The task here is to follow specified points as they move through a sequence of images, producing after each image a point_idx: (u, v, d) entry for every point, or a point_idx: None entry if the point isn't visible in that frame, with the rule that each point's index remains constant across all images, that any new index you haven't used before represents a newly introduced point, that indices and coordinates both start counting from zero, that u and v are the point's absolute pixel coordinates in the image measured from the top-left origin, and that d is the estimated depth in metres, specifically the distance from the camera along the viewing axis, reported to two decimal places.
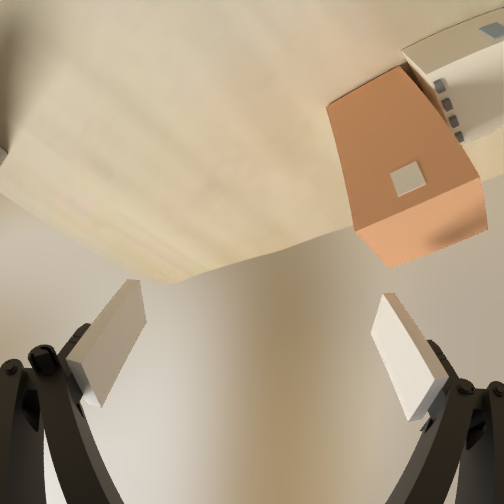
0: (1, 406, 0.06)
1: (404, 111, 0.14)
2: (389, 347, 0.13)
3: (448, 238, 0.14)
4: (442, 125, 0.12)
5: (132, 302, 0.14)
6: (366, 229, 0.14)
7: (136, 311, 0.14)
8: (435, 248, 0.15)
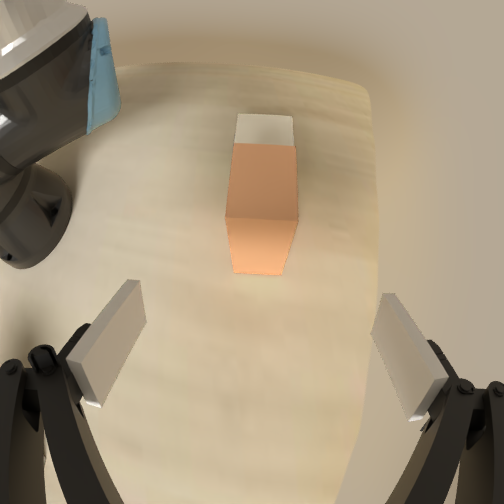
0: (1, 406, 0.06)
1: None
2: (389, 347, 0.13)
3: (285, 170, 0.21)
4: None
5: (132, 301, 0.14)
6: (229, 210, 0.20)
7: (136, 311, 0.14)
8: (292, 181, 0.21)
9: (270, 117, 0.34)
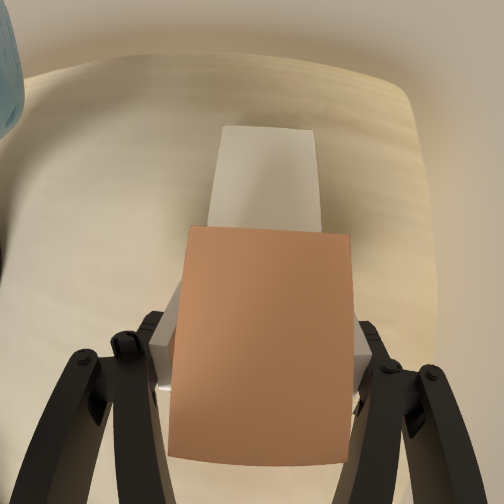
0: (64, 397, 0.07)
1: None
2: None
3: (325, 319, 0.08)
4: None
5: None
6: (177, 440, 0.07)
7: None
8: (343, 353, 0.07)
9: (277, 132, 0.21)
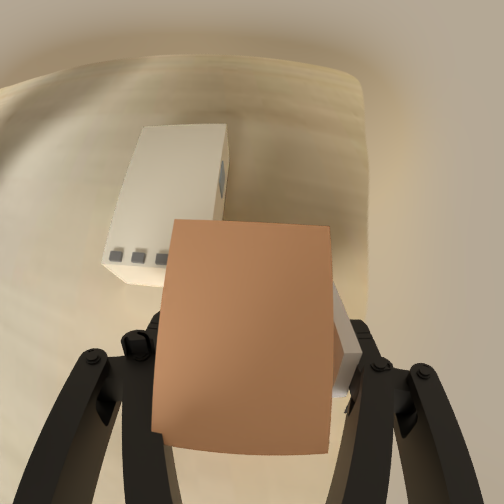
0: (72, 396, 0.07)
1: None
2: None
3: (304, 308, 0.08)
4: None
5: None
6: (159, 426, 0.07)
7: None
8: (322, 343, 0.08)
9: (190, 129, 0.21)
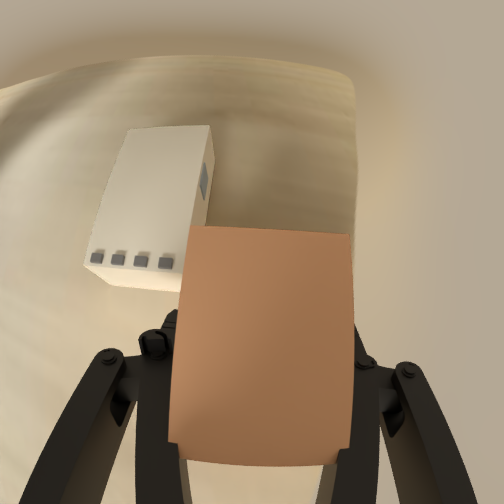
0: (86, 396, 0.07)
1: None
2: None
3: (325, 318, 0.08)
4: None
5: None
6: (176, 440, 0.07)
7: None
8: (343, 353, 0.07)
9: (174, 131, 0.21)
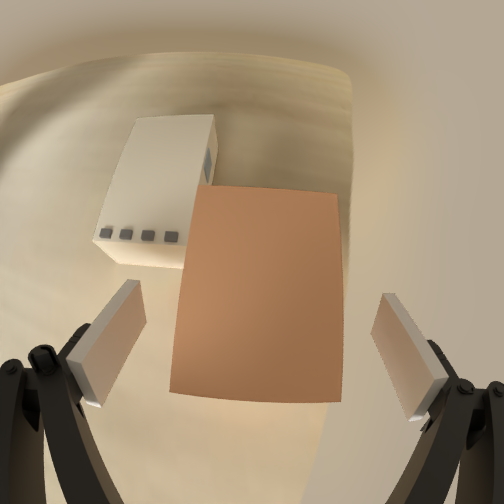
0: (1, 406, 0.06)
1: None
2: (389, 347, 0.13)
3: (316, 262, 0.09)
4: None
5: (132, 301, 0.14)
6: (178, 375, 0.08)
7: (136, 311, 0.14)
8: (333, 294, 0.09)
9: (180, 119, 0.22)
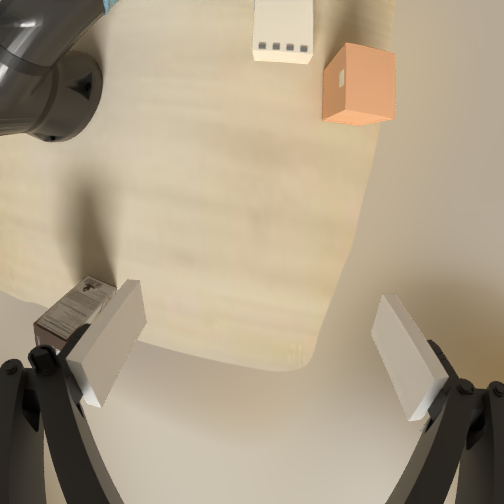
0: (1, 406, 0.06)
1: (331, 74, 0.27)
2: (389, 347, 0.13)
3: (387, 75, 0.21)
4: (336, 56, 0.24)
5: (131, 301, 0.14)
6: (347, 104, 0.23)
7: (136, 311, 0.14)
8: (392, 86, 0.21)
9: None
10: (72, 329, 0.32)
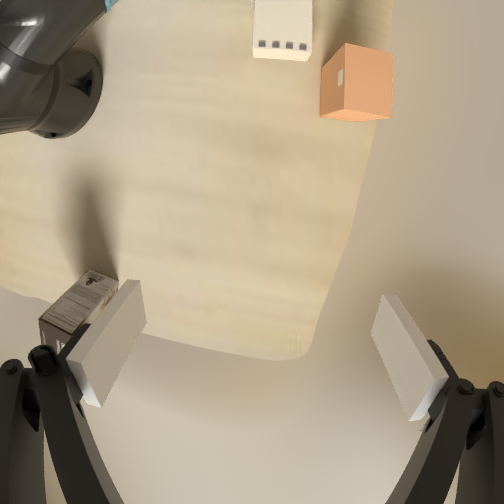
0: (1, 406, 0.06)
1: (330, 72, 0.28)
2: (389, 347, 0.13)
3: (384, 75, 0.22)
4: (335, 55, 0.25)
5: (132, 301, 0.14)
6: (346, 103, 0.23)
7: (136, 311, 0.14)
8: (389, 85, 0.22)
9: None
10: (77, 323, 0.33)
